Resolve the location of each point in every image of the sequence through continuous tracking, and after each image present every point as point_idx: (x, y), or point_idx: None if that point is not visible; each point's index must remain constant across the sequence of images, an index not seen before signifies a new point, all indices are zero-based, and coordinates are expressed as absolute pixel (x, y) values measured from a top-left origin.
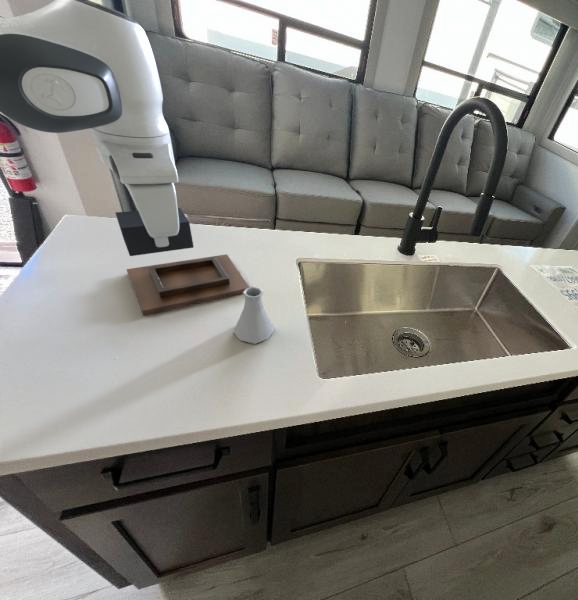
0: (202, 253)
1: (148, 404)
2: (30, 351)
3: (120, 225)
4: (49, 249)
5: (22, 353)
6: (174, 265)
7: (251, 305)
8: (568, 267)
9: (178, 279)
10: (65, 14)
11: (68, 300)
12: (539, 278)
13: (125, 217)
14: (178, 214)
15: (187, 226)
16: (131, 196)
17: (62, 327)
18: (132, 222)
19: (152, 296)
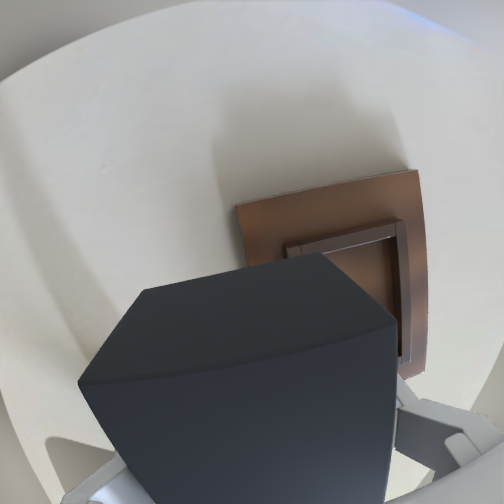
0: (451, 318)
1: (7, 232)
2: (163, 34)
3: (121, 380)
4: (485, 54)
5: (162, 26)
6: (399, 279)
7: (115, 452)
8: None
9: (355, 281)
10: None
11: (323, 63)
12: None
13: (278, 405)
14: None
15: None
16: (467, 493)
17: (226, 62)
18: (181, 444)
19: (293, 226)
